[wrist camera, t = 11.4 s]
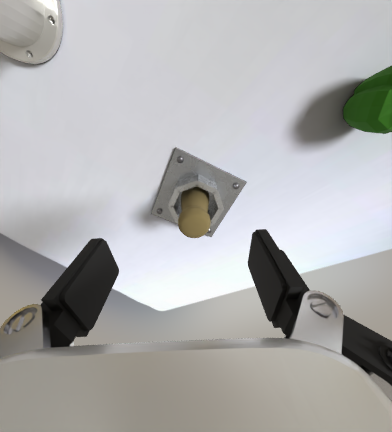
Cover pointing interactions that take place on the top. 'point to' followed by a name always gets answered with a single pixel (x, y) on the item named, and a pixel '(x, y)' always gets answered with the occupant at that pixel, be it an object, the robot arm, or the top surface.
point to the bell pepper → (371, 104)
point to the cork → (194, 212)
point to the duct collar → (196, 177)
